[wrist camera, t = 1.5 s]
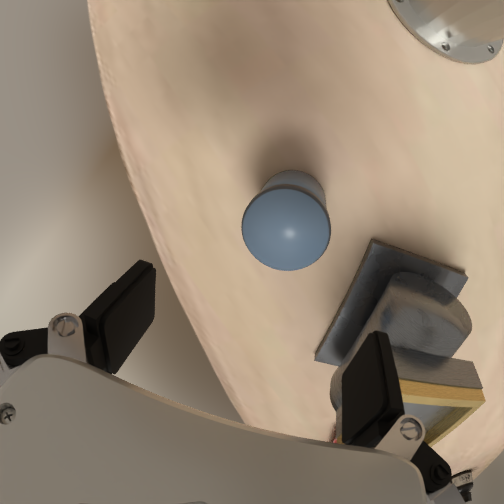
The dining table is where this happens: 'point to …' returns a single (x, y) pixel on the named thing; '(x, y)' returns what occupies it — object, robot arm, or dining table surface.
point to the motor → (408, 336)
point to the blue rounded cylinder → (287, 222)
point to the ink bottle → (463, 484)
